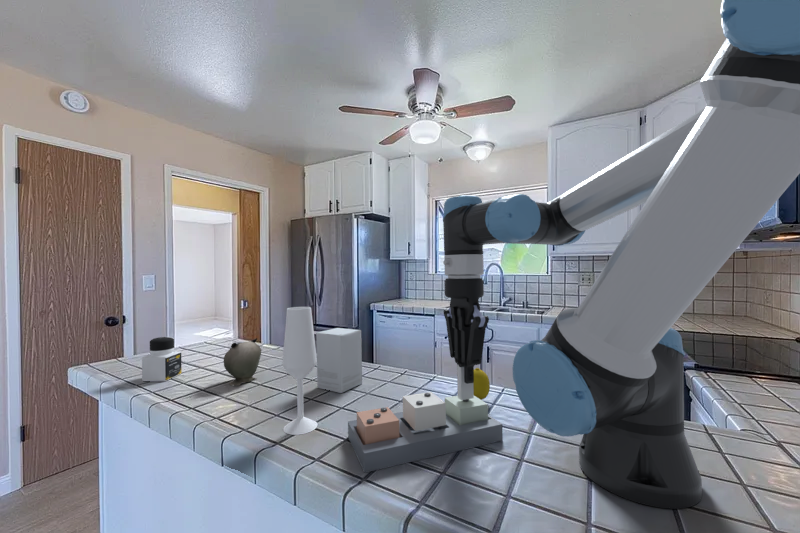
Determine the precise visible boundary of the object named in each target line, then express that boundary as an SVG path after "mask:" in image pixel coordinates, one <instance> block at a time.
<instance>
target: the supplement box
mask: <svg viewBox="0 0 800 533" xmlns="http://www.w3.org/2000/svg"><path fill="white" fill-rule="evenodd" d="M315 335H316V336H315V346H316V357H317V363H316V377H317V378H316V381H317V382H316V384H317V386H316V387H318V389H321V390H325V389H326V390H327V391H329V390H330V391H331V392H334V393H339V394H342V393H344V392H347V391H349V390H351V389H353V388H355V387H357V386H360V385H362V384H363V361H362V360H363V358H362V354H363V353H362V350H363V349H362V330H361V329H354V328H353V329H352V328H343V327H334V328H331V329H326V330H322V331H317V332H316V333H315ZM326 390H325V391H326Z"/></svg>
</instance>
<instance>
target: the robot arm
mask: <svg viewBox="0 0 800 533" xmlns="http://www.w3.org/2000/svg"><path fill="white" fill-rule="evenodd" d="M720 16H721V28H722V33H723V36H724V37H725V39H724V42H723V43H722V45H721V47H720V48H719V50H718V51H717V54H715V57H714V58H713V60H712V61H711V63H710V65H709V67H708V68H707V69H706V71H705V73H704V75H703V76H702V77H701V79H700V81H699V85H700V87H701V90H702V94H703V97H704V101H705V107H704V108H702V109H701V110H699V111H697V112H696V113H694V114H692V115H690V116H689V117H687V118H686V119H684V120H682V121H681V122H679V123H677V124H676V125H674V126H673V127H671V128H670V129H668V130H666V131H665V132H662V133H661V134H659V135H658V136H656V137H655V138H652V139H651V140H649V141H648V142H646V143H645V144H643V145H641V146H640V147H637V148H636V149H634V150H633V151H631V152H629V153H628V154H626V155H625V156H623V157H621V158H620V159H618V160H617V161H615V162H613V163H612V164H610V165H608V166H607V167H605V168H603V169H602V170H600V171H598V172H597V173H595V174H594V175H592V176H590V177H589V178H587V179H585V180H584V181H582V182H580V183H578V184H577V185H575V186H574V187H572V188H570V189H569V190H567V191H565V192H564V193H562V194H560V195H559V196H557V197H555V198H554V199H552V200H550V201H547V202H537V201H535V200H533V199H532V198H531V197H530V196H528V195H527V194H523V193H522V194H521V193H517V194H512V195H510V194H507V195H502V196H499V197H497V198H495V199H491V200H487V201H485V202H483V200H482V198H481V197H479V196H478V195H469V194H468V195H466V194H465V195H464V194H463V195H459V196H451V197H449V198H447V199H446V200H445V201H444V204H443V217H442V223H443V224H442V225H443V226H442V227H443V251H444V253H443V254H444V258H443V259H444V260H443V261H442V262H443V265H444V275H445V276H447V278H445V280H444V282H443V283H444V296H445V297H446V298H450V302H449V308H448V309H443V315H444V319H445V324H446V332H447V339H448V347H449V349H448V350H449V355H450V357H451V358H454V362H455V363H456V377H457V378H456V379H457V381H456V382H457V387H456V388H457V396H458V398H459V399H460V400H466V399H472V398H474V388H473V382H474V369H475V366H477V365H481V364H482V359H483V351H484V346H485V345H484V344H485V335H486V329H487V326H488V324H489V321H490V319H489V316H488V315H483V314H482V313H481V305H480V302H479V299H480V298H482V297H484V294H485V293H484V292H485V290H484V285H485V284H484V279H483V278H482V277H481V276H483V275H484V273H485V272H484V270H485V268H484V250H483V248H484V245H494V244H495V245H496V244H510V245H511V244H516V245H517V244H521V245H523V244H524V245H549V246H564V245H571V244H574V243H576V242H578V241H579V240H581V238H582V236H584V234H585V233H586V231H588V230H590V229H592V228H594V227H596V226H598V225H600V224H603V223H605V222H606V221H609V220H611V219H613V218H615V217H617V216H620V215H622V214H624V213H626V212H629V211H630V210H633V209H635V208H637V207H639V206H641V205H642V207H641V208H640V211H639V212H638V213H637V214H636V216H635V218H634V220H633V221H632V223H631V225H630V227H628V229H627V231H626V232H625V234H624V236H623V237H622V238H621V240H620V242H619V243H618V245H617V246H616V247H615V249H614V251H613V253H612V254H611V256H610V257H609V259H608V261H607V262H606V264H604V267H603V268H602V269H601V271H600V273H599V274H598V276H597V278H596V279H595V281H594V282H593V284H592V285H591V287H590V289H589V290H588V291H587V294H586V295H585V297H584V298H583V300H582V301H581V302H580V304H579V306H578V307H573V308H566V309H564V310H561V311H560V312H559V314H557V316H556V318H555V320H554V321H553V323H552V325H551V326H550V328H549V329H548V331H547V333H546V334H545V336H544V337H543V338H542V339H541V340H540V339H536V340H530V341H529V342H527V343H526V344H524V345H522V346H521V347H519V349H518V350H517V352H516V353H515V356H514V358H513V360H512V361H513V362H512V379H513V380H512V381H513V382H514V384H515V391H516V394H517V396H518V398H519V400H520V402H521V404H522V406H523V408H524V409H525V411H526V412H527V413H528V415H529V416H530V417H531V418H532V420H533V421H535V423H536V424H538V426H540V427H541V428H542V429H544V430H546V431H547V432H549V433H551V434H555V435H556V436H560V437H574V436H579V435H582V438H581V441H580V443H579V446H578V462H579V466H580V469H581V470H582V471H583V473H584V474H585V475H586V476H587V477H588V478H589V479H590V480H591V481H592V482H593V483H595V484H596V485H598V486H600V487H602V489H605V490H606V491H608V492H610V493H612V494H614V495H616V496H619V497H621V498H623V499H625V500H629V501H631V502H635V503H638V504H642V505H646V506H650V507H654V508H660V509H661V508H662V509H675V510H676V509H685V508H687V509H688V508H690V507H692V506H693V507H694V506H696V505H698V504H699V503H700V501H702V498H703V481H702V475H701V474H700V470H699V469H698V466H697V464H696V460H695V457H694V455H693V453H692V449H691V447H690V445H689V443H688V439H687V437H686V434H685V389H684V388H685V384H684V383H685V382H684V381H685V379H684V378H685V376H684V374H685V371H684V370H685V369H684V365H685V364H684V358H685V356H686V354H685V350H684V348H683V339H682V335H681V334H680V332H679V331H677V330H676V329H674V328H672V327H673V326H674V324H675V323H676V322H677V321H678V320H679V318H680V317H681V316H682V315H683V314H684V312H685V311H686V310H687V309H688V308H689V307H690V306H691V304H692V303H693V302H694V300H696V299H697V297H698V296H699V294H701V292H702V291H703V290H704V289H705V287H706V286H707V285H708V284H709V283H710V282H711V280H712V279H713V278H714V277H715V276H716V274H717V273H718V271H719V270H721V269H722V267H723V266H724V265H725V263H726V262H727V261H728V260H729V258H730V257H731V256H732V255H733V254H734V253H735V252H736V250H737V249H738V248H739V247H740V245H741V244H742V243H743V242H744V240H745V239H746V238H747V237H748V236H749V234H750V233H751V232H752V231H753V230H754V228H756V226H758V224H759V223H760V221H762V219H763V218H764V217H765V216H766V215H767V214H768V212H769V211H770V210H771V209H772V207H773V206H774V205H775V204H776V203H777V201H778V200H779V199H780V198H781V196H782V195H783V194H784V193H785V191H787V189H788V188H789V187H790V186H791V184H793V182H794V181H795V180H796V179H797V177H798V176H799V175H800V0H721V4H720Z"/></svg>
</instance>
